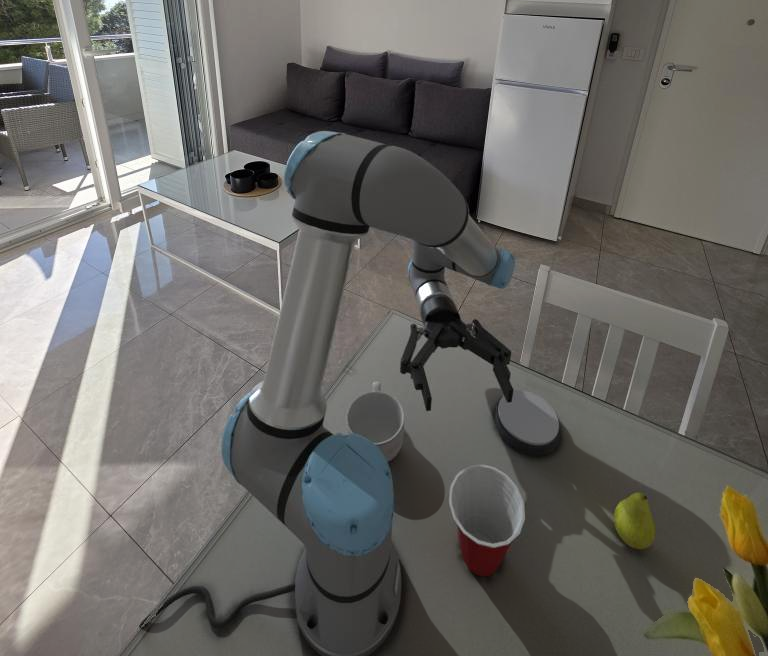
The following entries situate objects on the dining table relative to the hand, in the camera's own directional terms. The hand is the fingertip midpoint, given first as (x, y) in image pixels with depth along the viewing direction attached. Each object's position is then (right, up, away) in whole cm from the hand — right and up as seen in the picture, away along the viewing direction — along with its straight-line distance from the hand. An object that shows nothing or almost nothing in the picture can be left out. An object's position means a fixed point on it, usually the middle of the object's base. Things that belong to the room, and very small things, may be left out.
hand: (470, 400), depth 69 cm
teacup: (-15, -16, +14) cm, 27 cm away
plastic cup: (+1, -22, -3) cm, 22 cm away
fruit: (+26, -22, 0) cm, 34 cm away
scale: (+15, -16, +18) cm, 28 cm away
